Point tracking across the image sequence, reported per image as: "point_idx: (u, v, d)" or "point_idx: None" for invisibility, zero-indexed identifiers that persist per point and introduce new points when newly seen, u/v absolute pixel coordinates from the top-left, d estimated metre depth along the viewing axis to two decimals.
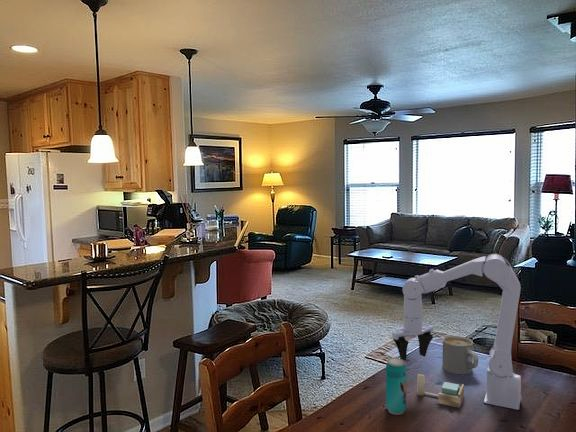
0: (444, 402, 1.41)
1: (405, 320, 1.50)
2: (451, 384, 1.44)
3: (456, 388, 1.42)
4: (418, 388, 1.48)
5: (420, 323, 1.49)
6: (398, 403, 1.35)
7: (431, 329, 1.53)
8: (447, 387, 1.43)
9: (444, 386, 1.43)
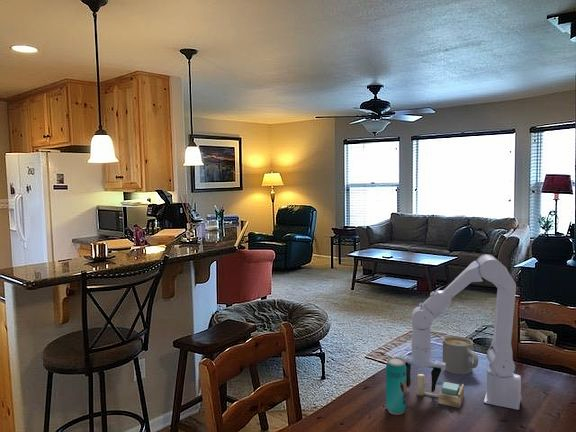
0: (444, 402, 1.41)
1: None
2: (451, 384, 1.44)
3: (456, 388, 1.42)
4: (418, 388, 1.48)
5: (421, 354, 1.44)
6: (398, 403, 1.35)
7: (442, 366, 1.43)
8: (447, 387, 1.43)
9: (444, 386, 1.43)
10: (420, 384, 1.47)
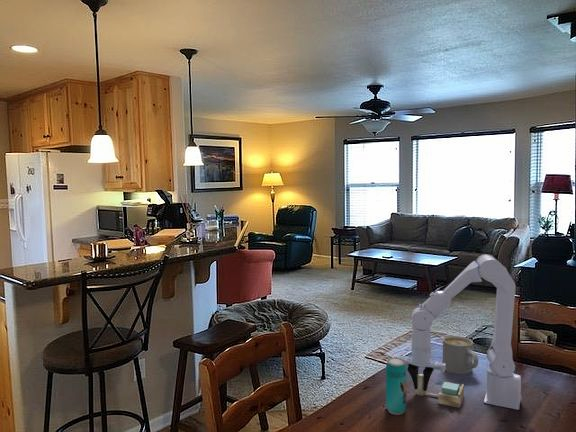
0: (444, 402, 1.41)
1: None
2: (451, 384, 1.44)
3: (456, 388, 1.42)
4: (418, 388, 1.48)
5: (421, 355, 1.44)
6: (398, 403, 1.35)
7: (442, 367, 1.43)
8: (447, 387, 1.43)
9: (444, 386, 1.43)
10: (420, 384, 1.47)
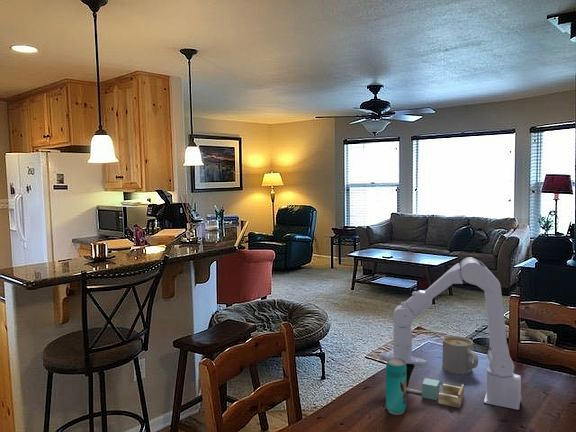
0: (444, 402, 1.41)
1: None
2: (432, 380, 1.47)
3: (436, 384, 1.45)
4: None
5: (402, 352, 1.47)
6: (398, 403, 1.35)
7: (422, 364, 1.46)
8: (427, 383, 1.46)
9: (424, 382, 1.46)
10: None
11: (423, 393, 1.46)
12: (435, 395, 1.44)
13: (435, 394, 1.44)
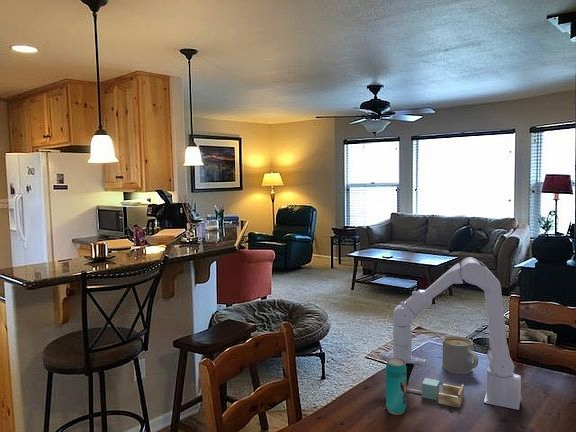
0: (444, 402, 1.41)
1: None
2: (432, 380, 1.47)
3: (436, 384, 1.45)
4: None
5: (402, 351, 1.47)
6: (398, 403, 1.35)
7: (422, 363, 1.46)
8: (427, 383, 1.46)
9: (424, 382, 1.46)
10: None
11: (423, 393, 1.46)
12: (435, 395, 1.44)
13: (435, 394, 1.44)
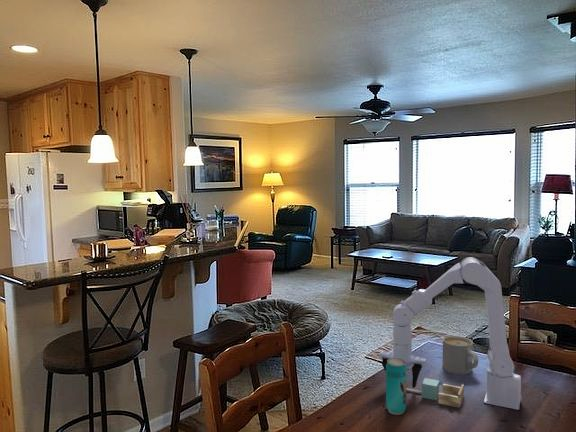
0: (444, 402, 1.41)
1: None
2: (432, 381, 1.47)
3: (436, 384, 1.45)
4: None
5: (402, 351, 1.47)
6: (398, 403, 1.35)
7: (422, 362, 1.46)
8: (427, 383, 1.46)
9: (424, 382, 1.46)
10: None
11: (423, 393, 1.46)
12: (435, 395, 1.44)
13: (435, 394, 1.44)
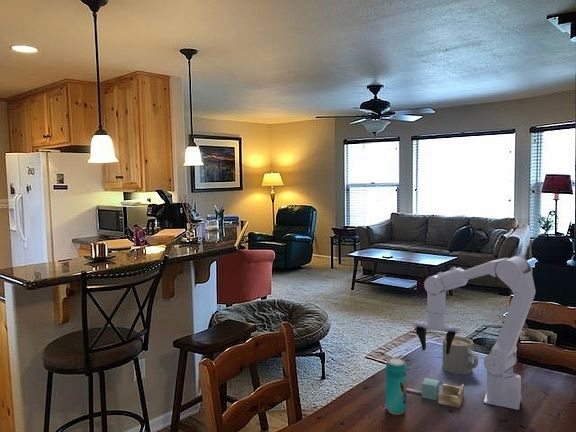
0: (444, 402, 1.41)
1: None
2: (432, 381, 1.47)
3: (436, 384, 1.45)
4: None
5: (437, 319, 1.53)
6: (398, 403, 1.35)
7: (456, 330, 1.52)
8: (427, 383, 1.46)
9: (424, 382, 1.46)
10: None
11: (423, 393, 1.46)
12: (435, 395, 1.44)
13: (435, 394, 1.44)
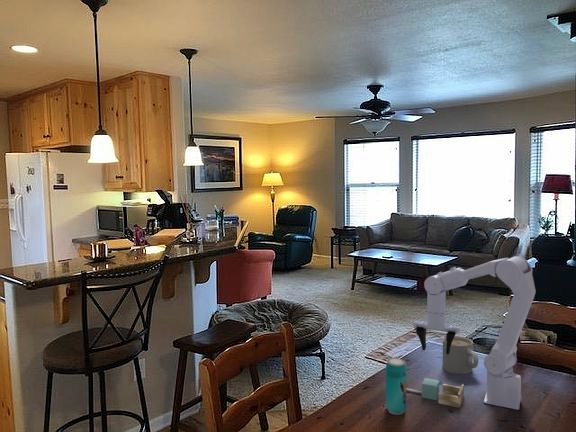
0: (444, 402, 1.41)
1: None
2: (432, 381, 1.47)
3: (436, 384, 1.45)
4: None
5: (437, 319, 1.53)
6: (398, 403, 1.35)
7: (456, 330, 1.52)
8: (427, 383, 1.46)
9: (424, 382, 1.46)
10: None
11: (423, 393, 1.46)
12: (435, 395, 1.44)
13: (435, 394, 1.44)
